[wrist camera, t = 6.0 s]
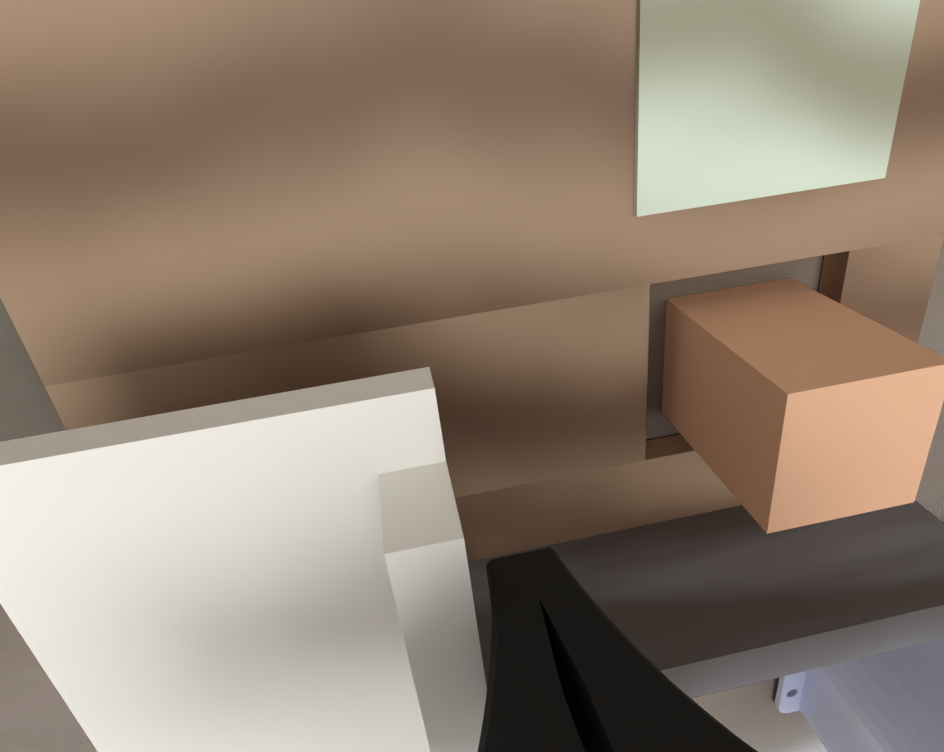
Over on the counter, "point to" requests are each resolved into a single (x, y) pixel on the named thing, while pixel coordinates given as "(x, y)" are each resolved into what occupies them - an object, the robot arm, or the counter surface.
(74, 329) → the board
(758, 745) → the counter surface
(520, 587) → the robot arm
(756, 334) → the block
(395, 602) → the cover
